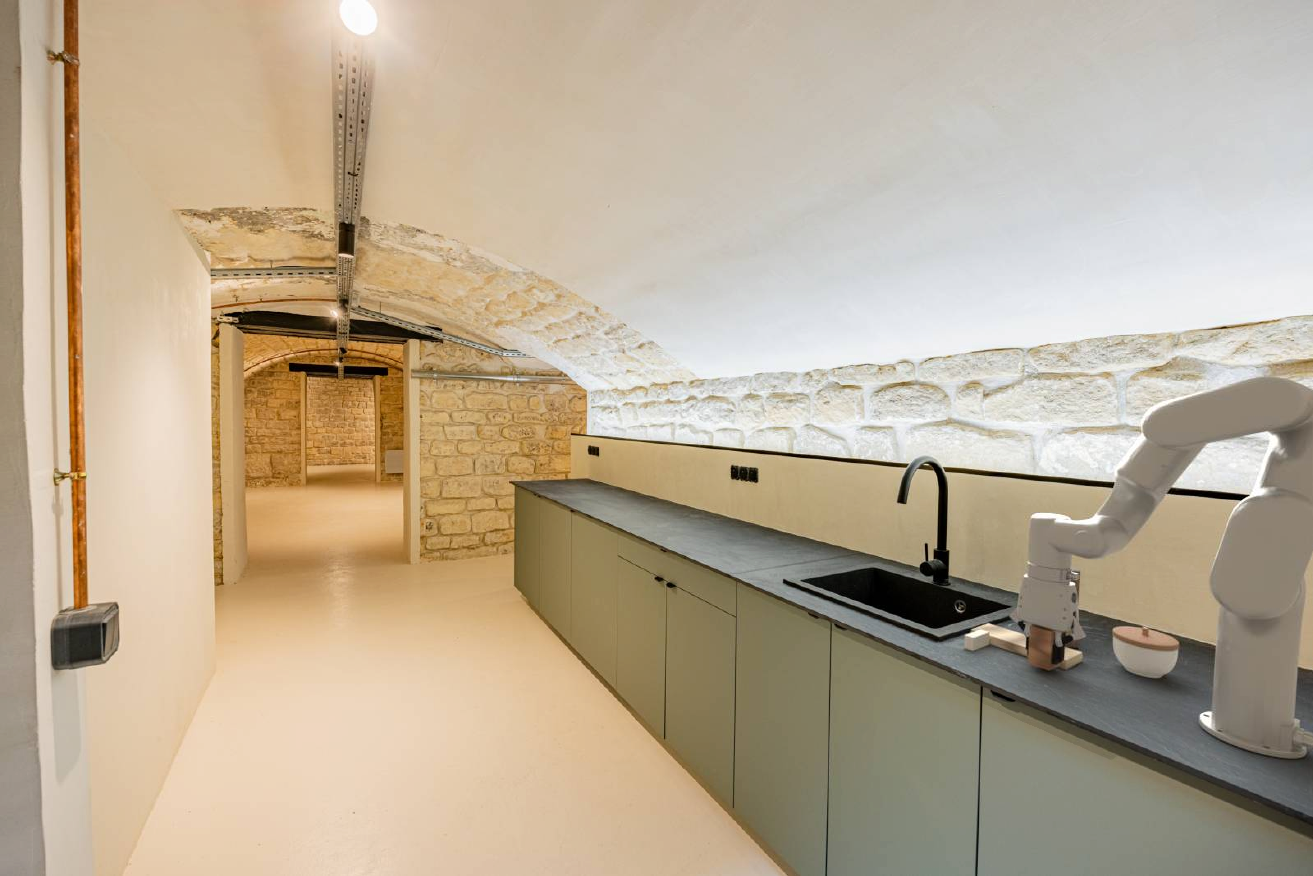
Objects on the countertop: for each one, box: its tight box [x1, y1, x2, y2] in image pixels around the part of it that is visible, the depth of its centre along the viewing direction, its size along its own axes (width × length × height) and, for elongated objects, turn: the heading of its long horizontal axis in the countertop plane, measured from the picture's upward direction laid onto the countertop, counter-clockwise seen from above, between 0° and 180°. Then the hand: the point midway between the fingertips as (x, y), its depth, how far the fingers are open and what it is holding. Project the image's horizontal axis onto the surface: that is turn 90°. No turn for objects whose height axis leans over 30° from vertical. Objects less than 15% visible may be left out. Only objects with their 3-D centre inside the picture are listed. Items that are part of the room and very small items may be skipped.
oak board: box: [970, 622, 1083, 670], centre depth 132 cm, size 20×8×2 cm, turn 33°
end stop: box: [963, 629, 990, 652], centre depth 133 cm, size 2×7×3 cm, turn 123°
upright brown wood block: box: [1027, 625, 1072, 672], centre depth 123 cm, size 4×14×8 cm, turn 123°
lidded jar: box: [1112, 625, 1180, 679], centre depth 121 cm, size 11×11×9 cm
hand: (1044, 658), depth 121 cm, fingers closed on upright brown wood block, 4 cm apart
